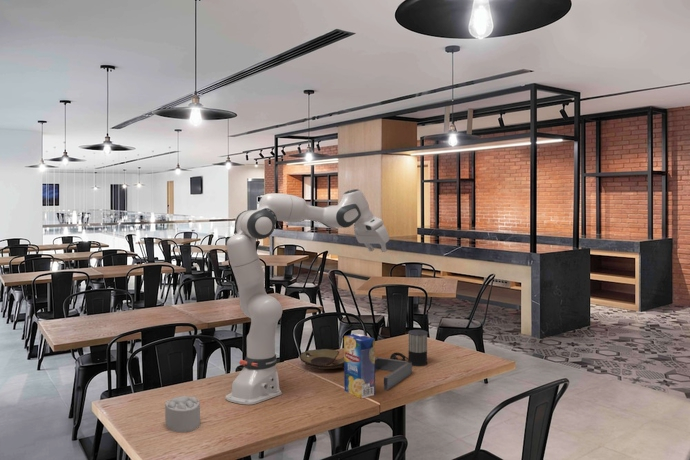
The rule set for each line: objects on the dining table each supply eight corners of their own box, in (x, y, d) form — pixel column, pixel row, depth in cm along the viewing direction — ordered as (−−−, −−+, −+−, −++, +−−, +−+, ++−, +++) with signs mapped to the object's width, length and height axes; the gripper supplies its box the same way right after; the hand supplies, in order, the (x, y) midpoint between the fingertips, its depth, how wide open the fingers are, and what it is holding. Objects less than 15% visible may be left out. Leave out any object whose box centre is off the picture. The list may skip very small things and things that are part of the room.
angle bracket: (387, 390, 215) (387, 378, 215) (349, 383, 223) (349, 371, 223) (411, 373, 237) (411, 362, 236) (376, 367, 245) (376, 356, 245)
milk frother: (431, 365, 249) (431, 333, 249) (401, 369, 243) (400, 336, 243) (416, 357, 262) (416, 326, 262) (387, 360, 257) (386, 329, 256)
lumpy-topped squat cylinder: (192, 415, 191) (192, 391, 190) (205, 427, 180) (205, 402, 180) (162, 422, 185) (162, 397, 185) (173, 435, 174) (173, 408, 174)
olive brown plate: (331, 356, 264) (331, 341, 264) (367, 372, 239) (367, 355, 239) (290, 364, 252) (290, 347, 252) (323, 381, 227) (323, 363, 227)
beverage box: (358, 387, 219) (357, 333, 218) (375, 394, 210) (374, 338, 209) (344, 390, 215) (343, 335, 214) (361, 398, 206) (360, 341, 205)
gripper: (347, 227, 243) (359, 253, 247) (374, 226, 226) (386, 255, 229) (357, 220, 246) (369, 247, 250) (384, 219, 229) (397, 248, 232)
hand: (378, 251), depth 239 cm, fingers open, 8 cm apart
